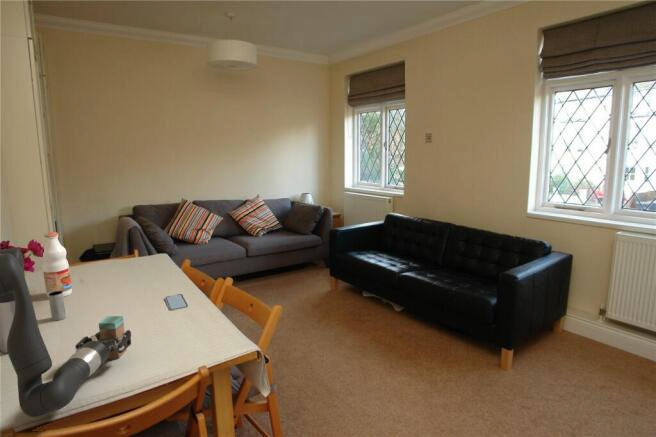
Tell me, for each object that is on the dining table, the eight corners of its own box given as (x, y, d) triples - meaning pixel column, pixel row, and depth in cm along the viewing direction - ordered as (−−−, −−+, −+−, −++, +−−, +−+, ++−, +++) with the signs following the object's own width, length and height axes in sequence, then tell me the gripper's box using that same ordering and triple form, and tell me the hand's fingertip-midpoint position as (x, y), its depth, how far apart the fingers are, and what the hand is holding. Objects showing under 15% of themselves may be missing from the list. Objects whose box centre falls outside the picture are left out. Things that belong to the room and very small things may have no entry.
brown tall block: (103, 358, 125) (98, 323, 123) (111, 350, 130) (107, 316, 128) (119, 358, 125) (114, 323, 123) (126, 350, 130) (122, 316, 128)
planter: (64, 314, 156) (61, 290, 154) (67, 318, 153) (63, 293, 151) (50, 318, 153) (47, 293, 151) (53, 322, 150) (49, 296, 148)
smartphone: (169, 310, 160) (164, 296, 172) (170, 312, 160) (164, 299, 172) (189, 306, 163) (182, 293, 176) (189, 308, 163) (182, 295, 176)
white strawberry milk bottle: (49, 292, 179) (40, 232, 173) (73, 289, 183) (65, 230, 177) (44, 300, 171) (35, 237, 165) (70, 296, 174) (62, 234, 169)
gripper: (110, 347, 112) (137, 321, 127) (59, 348, 111) (92, 322, 127) (113, 372, 113) (139, 343, 129) (63, 372, 113) (95, 343, 129)
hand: (115, 332), depth 128 cm, fingers open, 8 cm apart
